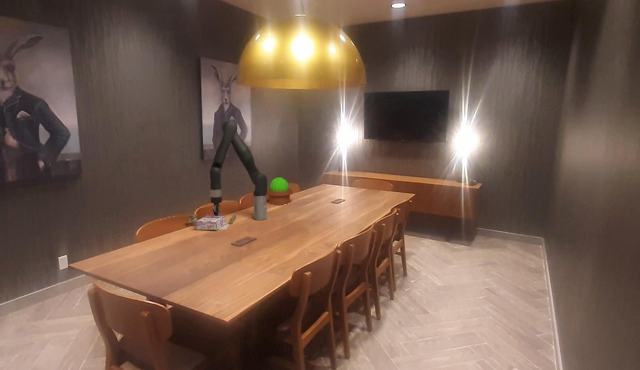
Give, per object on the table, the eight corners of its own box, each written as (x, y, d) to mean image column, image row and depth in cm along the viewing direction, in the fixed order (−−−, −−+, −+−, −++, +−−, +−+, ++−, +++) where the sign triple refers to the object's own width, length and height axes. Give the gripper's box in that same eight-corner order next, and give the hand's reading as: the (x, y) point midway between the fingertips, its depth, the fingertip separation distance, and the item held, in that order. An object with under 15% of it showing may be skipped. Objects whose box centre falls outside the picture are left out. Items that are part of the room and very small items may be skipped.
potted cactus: (281, 208, 298) (281, 178, 294) (261, 205, 309) (261, 177, 306) (297, 204, 316) (297, 176, 312) (277, 201, 328) (277, 174, 324)
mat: (229, 225, 243) (229, 224, 243) (225, 229, 231) (225, 229, 231) (202, 225, 242) (202, 225, 242) (197, 230, 230) (197, 229, 230)
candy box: (226, 215, 243) (216, 221, 227) (226, 224, 244) (217, 230, 228) (206, 215, 245) (195, 220, 229) (206, 223, 246) (196, 229, 229)
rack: (236, 218, 263) (235, 213, 262) (232, 223, 246) (232, 219, 246) (206, 218, 261) (206, 214, 261) (201, 224, 245) (200, 219, 244)
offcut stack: (198, 223, 248) (198, 213, 247) (195, 226, 240) (195, 215, 240) (191, 223, 248) (190, 213, 247) (187, 226, 240) (187, 216, 239)
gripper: (219, 197, 239) (220, 222, 241) (223, 194, 252) (224, 218, 254) (208, 197, 238) (209, 222, 241) (212, 194, 251) (213, 218, 254)
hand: (217, 220), depth 248 cm, fingers closed
